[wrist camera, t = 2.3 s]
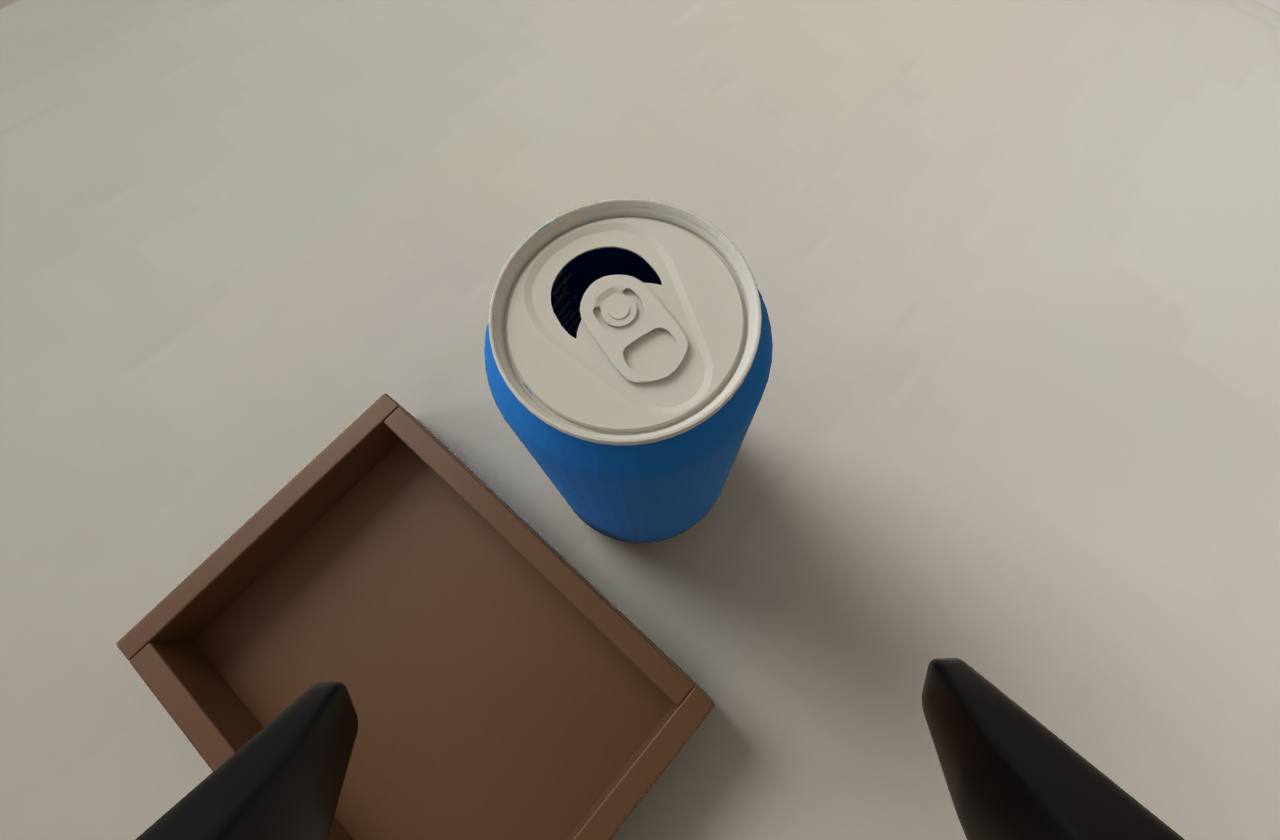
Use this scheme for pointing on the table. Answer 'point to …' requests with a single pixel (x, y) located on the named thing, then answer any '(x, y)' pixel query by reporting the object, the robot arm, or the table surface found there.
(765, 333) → the beverage can
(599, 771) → the tray
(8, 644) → the table surface
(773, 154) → the table surface
